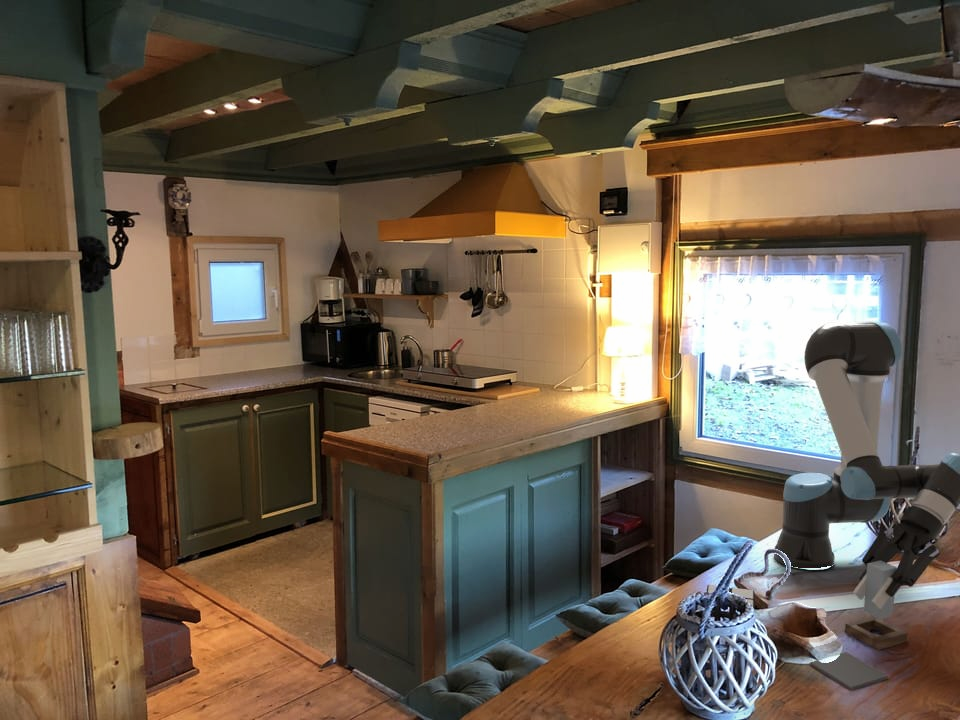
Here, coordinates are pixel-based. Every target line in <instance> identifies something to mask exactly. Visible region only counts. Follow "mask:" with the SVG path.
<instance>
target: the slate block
mask: <svg viewBox="0 0 960 720" xmlns="http://www.w3.org/2000/svg"><path fill="white" fill-rule="evenodd" d="M897 567H898V566H895V565H892V564H890V563H889V562H888V563H885V562H883V561H881V560H880V561H876V562H872V563H867V566H866V568H867V574H866V588H865V596H864V601H863V602H864V603H863V613H866V614H868V615H870V616H874V617H876V618H878V619H881V620H883V619H886V618H890V617H892V616H893V615H894V607H895V605H894V604H895V595H894V596H893V597H891V596H890V597H889V598H888V599H887V601H886V602H885V604H884V605H883V607H882V608H881V609H878V608H877V607H876V606H875V605H874V604H873V602H872V600H873V598H874V597H875V596H876V594H877V593H878V591H879V590H880V589H881V587H882V586H883V584H884V583H885V582H886V580H887V579H888V577H890V578H892V579H894V578H893V577H892V575H894V574H895V572H896V570H897Z"/></svg>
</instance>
